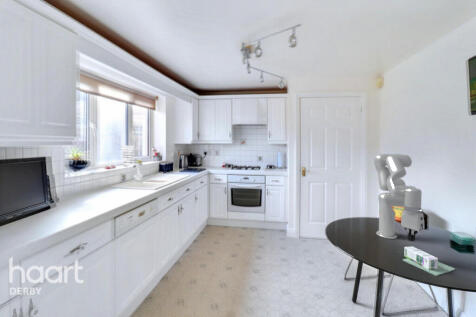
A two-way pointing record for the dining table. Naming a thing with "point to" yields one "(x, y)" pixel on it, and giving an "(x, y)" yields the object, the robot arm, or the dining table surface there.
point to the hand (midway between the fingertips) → (411, 240)
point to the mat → (441, 269)
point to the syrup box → (421, 258)
